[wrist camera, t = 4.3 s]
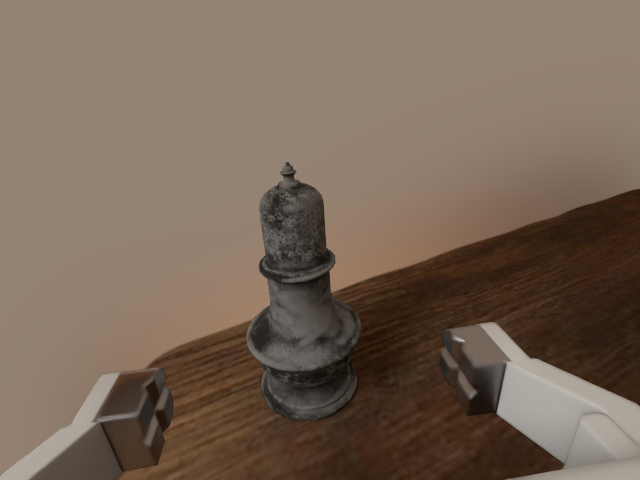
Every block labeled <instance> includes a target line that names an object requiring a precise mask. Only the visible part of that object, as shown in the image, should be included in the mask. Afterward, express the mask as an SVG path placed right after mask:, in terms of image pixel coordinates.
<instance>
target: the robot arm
mask: <svg viewBox="0 0 640 480" xmlns="http://www.w3.org/2000/svg"><path fill="white" fill-rule="evenodd" d="M441 340H442V342H443V344H444V345H445V347H444V348H443V349H442V350H441V351H440V366H441V371H442V373H443V376H444V378H445V380H446V382H447V383H448V385H450V386H452V387H453V388H455V389H456V395H455V397H456V399H457V400H458V402H459V404H460V405H461V407H462V409H463V410H464V412H465V414H466V415H467V416H473V415H480V414H488V413H496V412H497V415H499V416H500V417H501V418H503V419H504V420H505V421H507V422H508V423H509V424H511V425H512V426H513V427H515V428H516V429H518V430H519V431H520V432H522V433H523V434H524V435H526V436H527V437H528V438H530V439H531V440H533V441H534V442H535V443H537V444H538V445H539V446H541V447H542V448H543V449H545V450H546V451H547V452H549V453H550V454H552V455H553V456H554V457H556V458H557V459H558V460H560V461H561V462H562V463H564V466H563V469H562V470H557V471H551V472H545V473H540V474H534V475H528V476H523V477H517V478H511V479H506V480H640V406H639V405H638V404H636V403H634V402H632V401H629V400H627V399H625V398H623V397H620V396H618V395H616V394H614V393H612V392H609V391H607V390H605V389H603V388H600V387H598V386H596V385H594V384H592V383H589V382H587V381H585V380H583V379H581V378H578V377H576V376H574V375H572V374H569V373H567V372H565V371H563V370H561V369H558V368H556V367H554V366H552V365H550V364H547V363H545V362H543V361H541V360H538V359H536V358H533V359H530V358H529V357H528V356H527V355H526V354H525V353H524V352H523V351H522V350H521V349H520V347H519V346H518V345H517V344H516V343H515V342H514V341H513V340H512V339H511V338H510V337H509V336H508V335H507V334H506V333H505V332H504V331H503V330H502V329H501V328H500V327H499V326H498V325H497V324H496V323H494V322H488V323H482V324H476V325H471V326H464V327H456V328H449V329H444V331H443V333H442V338H441ZM165 381H166V375H165V372H164V370H163V369H162V368H160V367H159V368H150V369H142V370H132V371H124V372H117V373H108V374H104V375H103V376H101V377H100V378H99V379H98V381H97V382H96V384H95V386H94V387H93V389H92V390H91V392H90V394H89V395H88V397H87V399H86V401H85V402H84V404H83V405H82V407H81V409H80V410H79V412H78V414H77V415H76V417H75V419H74V420H73V422H72V424H71V425H70V426H66V427H63V428H62V429H60V430H59V431H58V432H56V433H55V434H54V435H53V436H51V437H50V438H49V439H47V440H46V441H45V442H43V443H42V444H41V445H40V446H38V447H37V448H36V449H34V450H33V451H32V452H30V453H29V454H28V455H27V456H25V457H24V458H23V459H21V460H20V461H19V462H17V463H16V464H15V465H14V466H12V467H11V468H10V469H8V470H7V471H6V472H4V473H3V474H2V475H0V480H118V479H119V478H120V477H121V475H122V474H123V472H124V471H129V470H135V469H140V468H145V467H151V466H156V465H158V462H159V459H160V455H161V452H162V449H163V446H164V443H165V439H164V437H163V434H162V433H163V432H164V431H165V430H166V429H167V428H168V427H169V426H170V423H171V419H172V415H173V397H172V393H171V390H170V389H169V388H167V387H166V386H164V384H165Z"/></svg>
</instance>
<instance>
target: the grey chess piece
mask: <svg viewBox="0 0 640 480" xmlns="http://www.w3.org/2000/svg"><path fill="white" fill-rule="evenodd" d="M295 173H296V170H293V167H292V166H291V165H290V164H289V163H288V162H286V164H285V166H284V167H283V171H281V172H280V174H282V175H283V177H284V180H283V181H281V182H279V184H278V185H277V186H275V187H273V188H271V189H270V190H268V191H267V192H266V193H265V194H264V195H263V197H262V199H261V201H260V204H259V212H260V219H261V226H262V233H263V240H264V247H265V254H266V255H265V256H264V257H263V259H262V260H261V261H260V264H259V270H260V273H262V275H263V276H264V277H266V278H267V279H268V286H269V293H270V300H271V302H270V306H268V307H266V308H265V309H263V310H262V311H261V312H260V313H259V314H258V315H257V316H255V318H254V319H253V321H252V322H251V324H250V325H249V328H248V331H247V335H246V337H247V344H248V348H249V349H250V351H251V353H252V354H253V356H254V357H255V358H257V359H258V361H259V363H260V364H261V366H262V367H263V368H264V370H265V372H264V374H263V378H262V384H261V386H262V392H263V397H264V399H265V400H266V402H267V404H268V406H270V407H271V408H272V409H273V410H274V411H275V412H276V413H278V414H280V415H282V416H284V417H287V418H289V419H295V420H301V421H305V420H317V419H320V418H324V417H327V416H330V415H332V414H333V413H335V412H337V411H339V410H340V409H342V408H343V407H344V406H345V405H346V404H347V403H348V402H349V401H350V399H351V398H352V396H353V394H354V392H355V390H356V385H357V374H356V369H355V367H354V365H353V363H352V361H351V360H350V359H351V357H352V355H353V353H354V348H355V346H356V345H357V343H358V342H359V340H360V336H361V331H362V327H361V322H360V318H359V317H358V315H357V314H356V312H355V311H354V310H353V309H352V308H350V307H349V306H348V305H347V304H345V303H343V302H341V301H339V300H337V299H334V298H332V295H331V289H330V275H329V274H330V273H329V271H330V270H331V269H332V268H333V266H334V264H335V255H334V254H333V253H332V252H331V251H330V250H328V249H327V248H326V236H325V219H324V205H323V204H324V203H323V199H322V195H321V194H320V193H319V192H318V191H317V190H316V189H315V188H314V187H312V186H310V185H308V184H304V183H301V182H300V181H298V180H295V179H294V174H295Z"/></svg>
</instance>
